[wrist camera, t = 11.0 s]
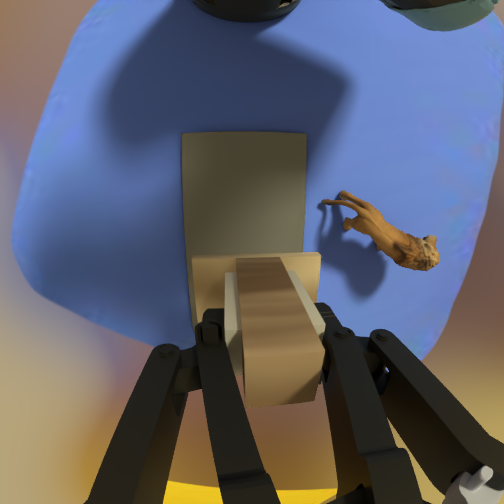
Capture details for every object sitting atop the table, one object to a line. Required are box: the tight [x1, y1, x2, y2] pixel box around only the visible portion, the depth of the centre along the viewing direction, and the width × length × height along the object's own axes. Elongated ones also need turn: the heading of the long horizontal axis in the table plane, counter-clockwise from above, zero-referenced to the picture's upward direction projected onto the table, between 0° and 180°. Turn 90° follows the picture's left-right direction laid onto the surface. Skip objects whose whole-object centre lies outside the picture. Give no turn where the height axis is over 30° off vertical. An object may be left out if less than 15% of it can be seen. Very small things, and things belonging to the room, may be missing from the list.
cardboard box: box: [192, 252, 325, 408], centre depth 16 cm, size 6×9×11 cm, turn 90°
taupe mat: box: [182, 131, 307, 332], centre depth 33 cm, size 25×14×1 cm, turn 0°
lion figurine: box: [322, 191, 440, 271], centre depth 29 cm, size 15×5×9 cm, turn 68°
